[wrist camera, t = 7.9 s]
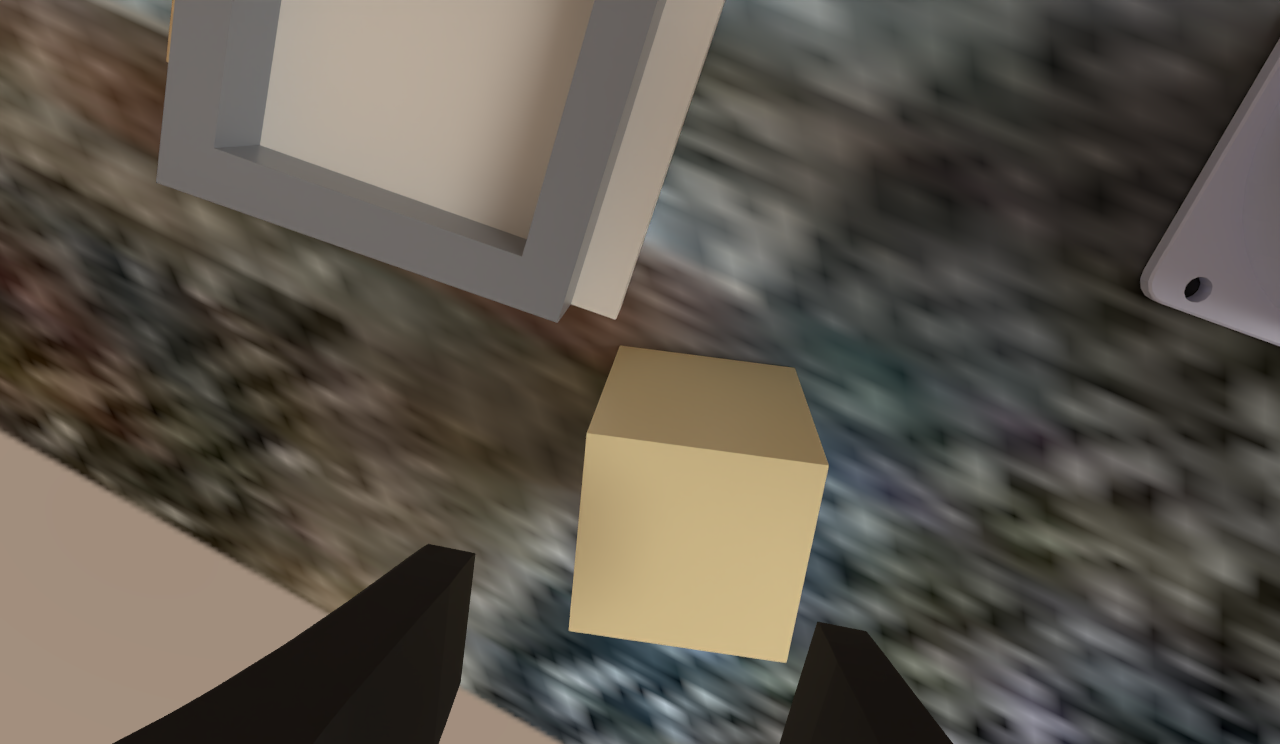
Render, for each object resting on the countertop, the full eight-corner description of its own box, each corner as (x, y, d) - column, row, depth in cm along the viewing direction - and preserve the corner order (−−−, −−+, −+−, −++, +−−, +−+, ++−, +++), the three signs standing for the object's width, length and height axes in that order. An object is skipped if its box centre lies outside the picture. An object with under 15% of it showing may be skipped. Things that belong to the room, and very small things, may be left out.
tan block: (794, 367, 17) (828, 465, 12) (765, 520, 18) (786, 663, 13) (620, 344, 17) (586, 432, 12) (604, 498, 18) (568, 631, 14)
